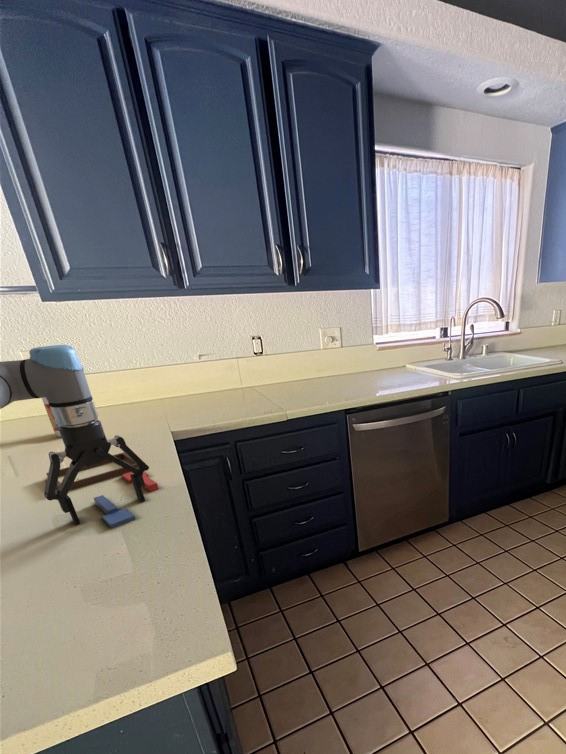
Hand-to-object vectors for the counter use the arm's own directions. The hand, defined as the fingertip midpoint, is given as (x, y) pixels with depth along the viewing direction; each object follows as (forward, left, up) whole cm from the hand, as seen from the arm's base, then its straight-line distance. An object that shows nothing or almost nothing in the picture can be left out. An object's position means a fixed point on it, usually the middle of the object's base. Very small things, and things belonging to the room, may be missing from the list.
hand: (110, 511), depth 98 cm
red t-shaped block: (-2, +15, -1) cm, 16 cm away
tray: (-19, +21, -1) cm, 28 cm away
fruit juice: (-56, +59, -1) cm, 81 cm away
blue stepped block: (+1, -1, -1) cm, 1 cm away
